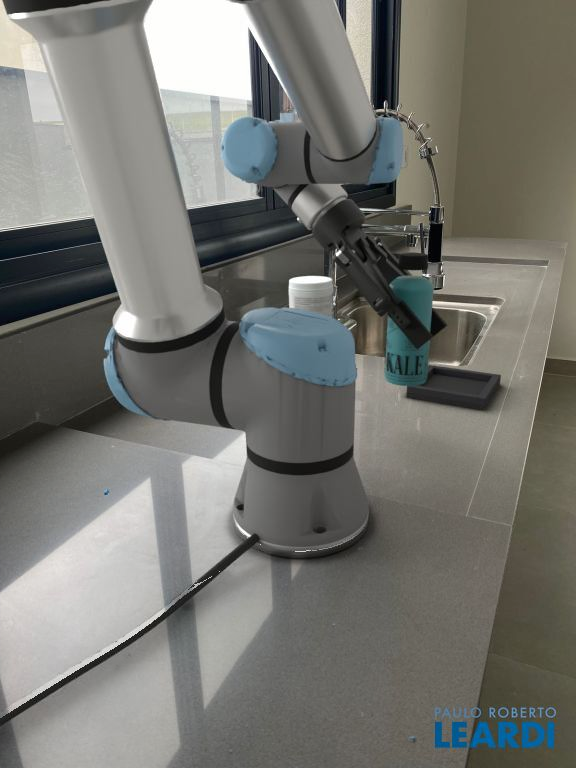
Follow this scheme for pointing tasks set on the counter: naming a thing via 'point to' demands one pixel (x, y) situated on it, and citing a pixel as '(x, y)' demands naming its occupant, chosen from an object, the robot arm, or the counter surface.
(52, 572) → the counter surface
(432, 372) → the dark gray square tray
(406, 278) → the beverage bottle
